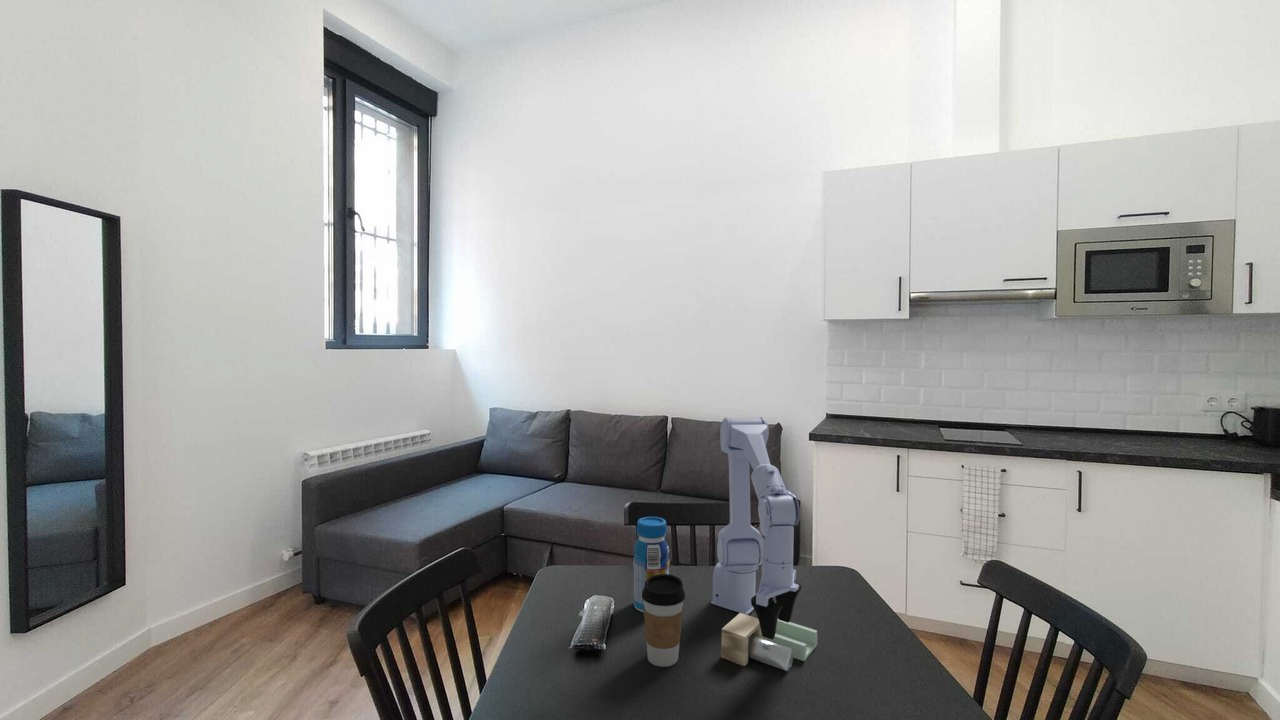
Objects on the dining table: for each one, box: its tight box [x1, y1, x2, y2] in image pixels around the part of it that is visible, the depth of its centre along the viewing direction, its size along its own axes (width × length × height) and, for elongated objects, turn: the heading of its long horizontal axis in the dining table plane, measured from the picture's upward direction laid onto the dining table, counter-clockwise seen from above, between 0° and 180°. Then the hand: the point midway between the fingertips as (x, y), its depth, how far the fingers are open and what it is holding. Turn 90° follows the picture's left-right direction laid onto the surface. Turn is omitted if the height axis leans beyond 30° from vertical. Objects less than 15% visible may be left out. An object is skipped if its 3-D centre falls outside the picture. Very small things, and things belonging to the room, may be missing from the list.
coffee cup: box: [642, 573, 686, 668], centre depth 111 cm, size 8×8×15 cm
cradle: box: [762, 619, 818, 662], centre depth 116 cm, size 9×7×3 cm
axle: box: [748, 635, 794, 672], centre depth 111 cm, size 12×4×4 cm, turn 54°
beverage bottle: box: [632, 516, 671, 613], centre depth 132 cm, size 8×8×20 cm
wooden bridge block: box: [720, 612, 763, 667], centre depth 113 cm, size 5×8×6 cm, turn 144°
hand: (776, 628), depth 108 cm, fingers open, 7 cm apart
